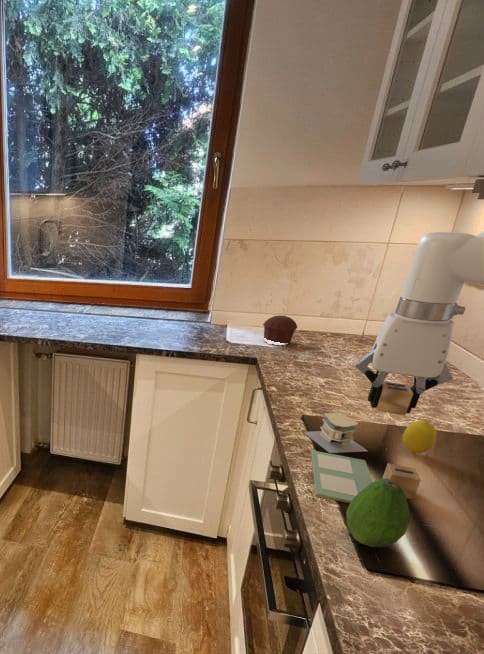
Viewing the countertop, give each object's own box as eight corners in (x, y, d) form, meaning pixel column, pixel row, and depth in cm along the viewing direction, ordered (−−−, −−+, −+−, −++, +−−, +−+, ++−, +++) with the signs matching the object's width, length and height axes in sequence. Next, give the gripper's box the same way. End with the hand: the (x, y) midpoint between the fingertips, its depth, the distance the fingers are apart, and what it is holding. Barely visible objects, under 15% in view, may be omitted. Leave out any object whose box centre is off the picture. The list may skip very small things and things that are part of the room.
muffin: (283, 338, 184) (289, 312, 179) (299, 346, 174) (306, 320, 169) (254, 338, 183) (259, 313, 179) (268, 347, 173) (274, 320, 169)
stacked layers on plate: (302, 432, 112) (308, 411, 110) (338, 430, 113) (344, 409, 110) (329, 453, 103) (336, 430, 101) (368, 451, 103) (375, 429, 101)
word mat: (364, 462, 99) (365, 459, 99) (378, 509, 84) (379, 506, 84) (311, 452, 103) (311, 449, 103) (315, 495, 88) (316, 492, 88)
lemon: (435, 458, 101) (449, 425, 97) (413, 461, 100) (426, 427, 96) (412, 446, 105) (424, 414, 102) (391, 448, 105) (402, 416, 101)
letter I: (407, 487, 91) (415, 467, 89) (412, 499, 87) (421, 479, 85) (380, 482, 93) (387, 462, 91) (384, 493, 89) (392, 473, 87)
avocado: (343, 550, 75) (365, 487, 70) (336, 522, 81) (356, 462, 76) (403, 565, 72) (430, 500, 67) (391, 534, 78) (415, 473, 73)
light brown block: (400, 406, 88) (409, 384, 86) (405, 415, 85) (414, 392, 83) (373, 402, 90) (380, 380, 88) (376, 410, 87) (384, 388, 85)
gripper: (480, 311, 79) (440, 409, 87) (362, 301, 86) (335, 392, 94) (495, 321, 73) (451, 425, 81) (367, 309, 80) (338, 406, 88)
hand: (389, 406), depth 87 cm, fingers closed on light brown block, 4 cm apart
